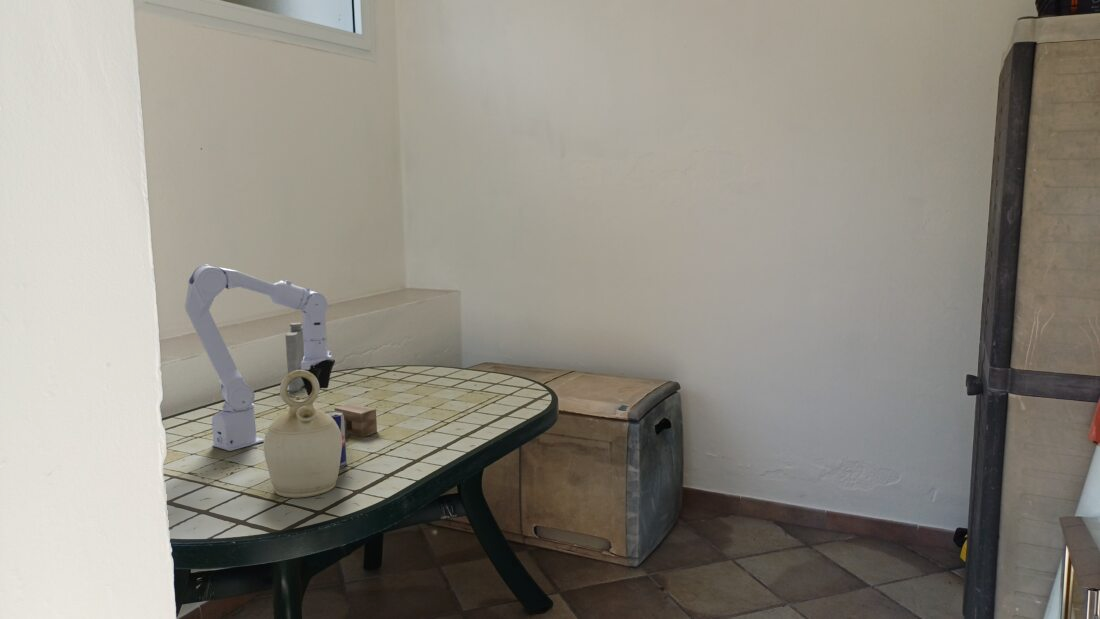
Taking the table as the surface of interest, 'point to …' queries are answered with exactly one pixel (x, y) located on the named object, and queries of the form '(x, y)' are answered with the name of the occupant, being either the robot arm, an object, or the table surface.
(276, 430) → the jug
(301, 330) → the hip flask
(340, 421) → the energy drink
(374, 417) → the socket block
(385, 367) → the table surface
